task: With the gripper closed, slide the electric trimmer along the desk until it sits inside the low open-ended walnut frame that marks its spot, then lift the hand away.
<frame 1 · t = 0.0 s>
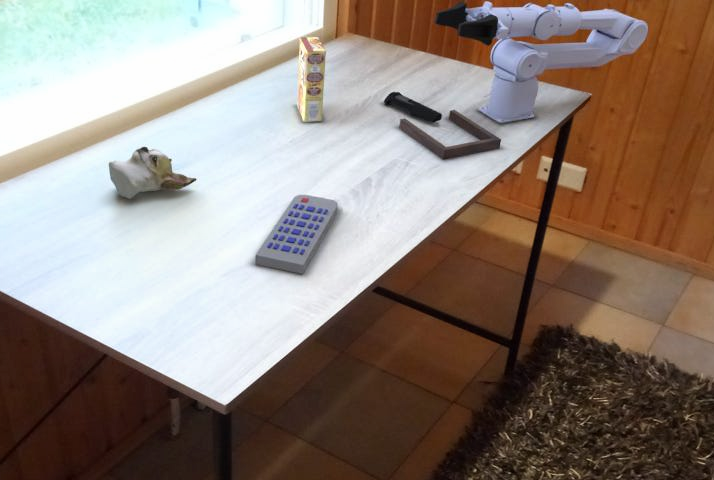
hand: (447, 23, 160), 22 cm above the table, tool horizontal, fingers open, 7 cm apart
dock: (446, 136, 170), on the table
candy box: (308, 115, 178), on the table
ceramic sculpture: (149, 190, 149), on the table
remote control: (300, 237, 137), on the table
electric trimmer: (412, 114, 179), on the table
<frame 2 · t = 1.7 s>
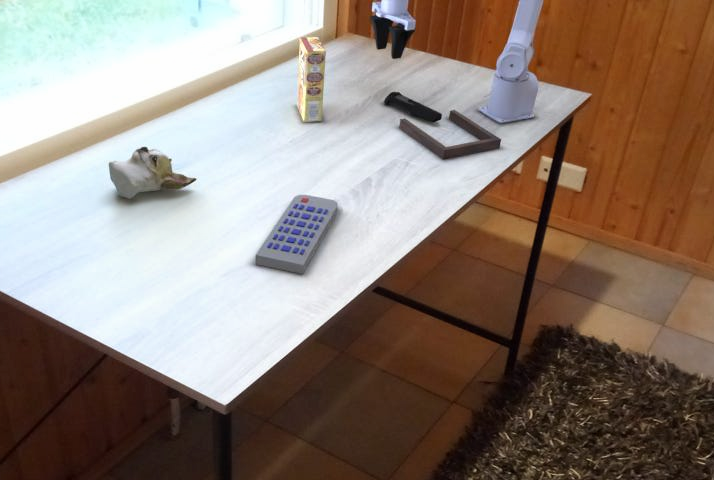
hand: (388, 53, 182), 9 cm above the table, tool pointing down, fingers open, 6 cm apart
nothing on the table moved.
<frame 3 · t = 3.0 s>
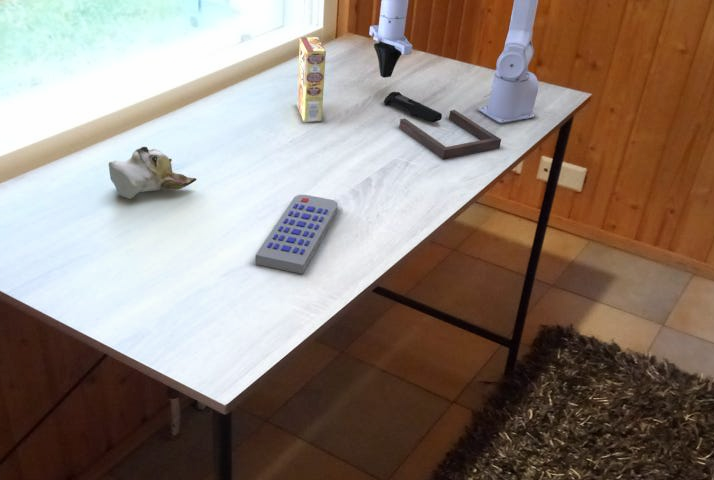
hand: (385, 76, 185), 4 cm above the table, tool pointing down, fingers closed
nothing on the table moved.
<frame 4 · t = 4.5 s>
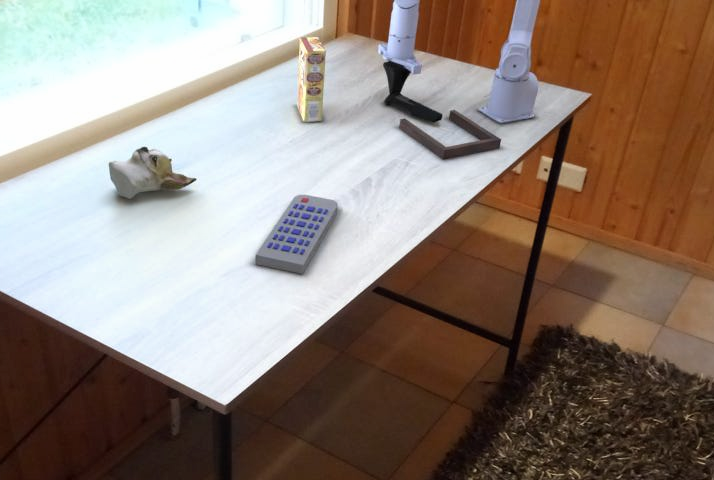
hand: (394, 94, 184), 1 cm above the table, tool pointing down, fingers closed
electric trimmer: (412, 114, 179), on the table, touching gripper
everything else where it was.
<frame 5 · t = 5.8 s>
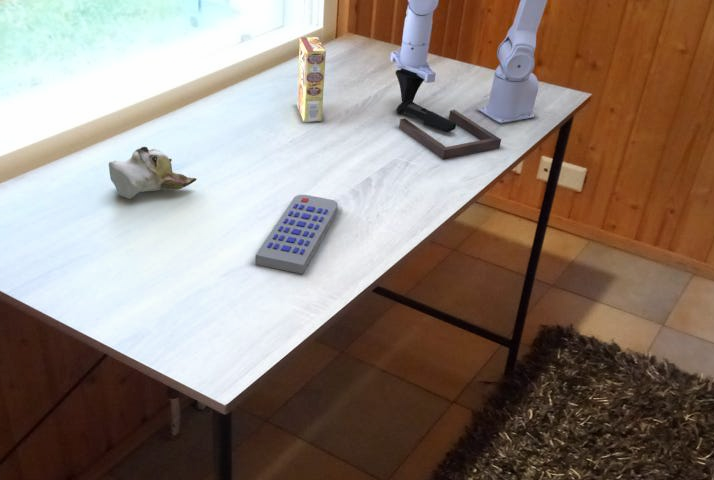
hand: (407, 103, 180), 1 cm above the table, tool pointing down, fingers closed
electric trimmer: (425, 123, 175), on the table, touching gripper
everything else where it was.
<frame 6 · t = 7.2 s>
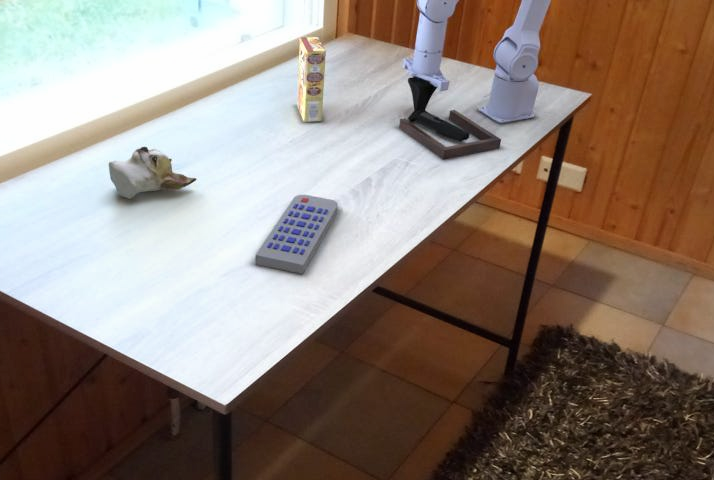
hand: (419, 111, 177), 1 cm above the table, tool pointing down, fingers closed
electric trimmer: (437, 132, 172), on the table, touching gripper
everything else where it was.
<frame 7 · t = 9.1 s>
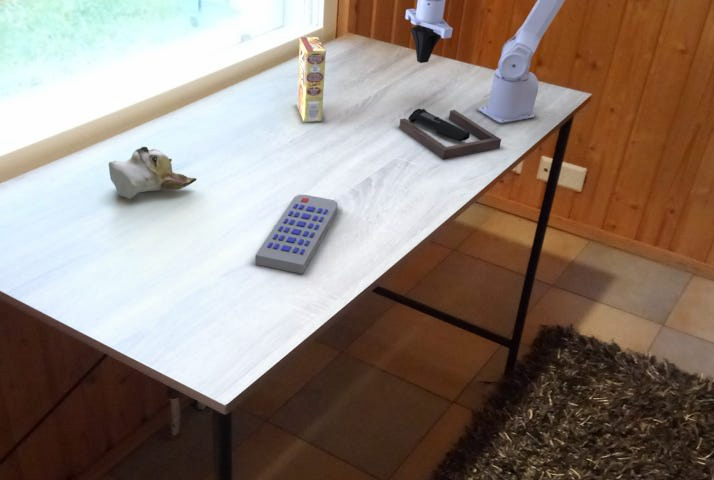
hand: (422, 61, 178), 9 cm above the table, tool pointing down, fingers closed
electric trimmer: (438, 132, 172), on the table
everything else where it was.
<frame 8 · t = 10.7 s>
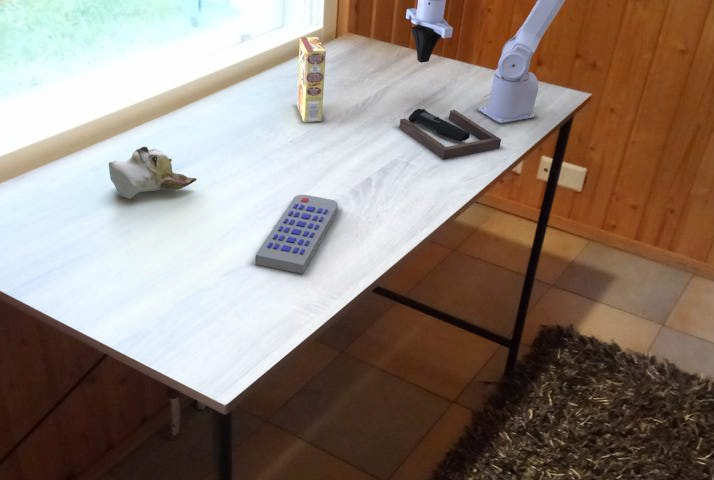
hand: (423, 61, 179), 9 cm above the table, tool pointing down, fingers closed
nothing on the table moved.
at the end: electric trimmer 0.6 cm from the target spot on the dock, point 0.0 cm above the dock's base; electric trimmer moved 10.2 cm from its start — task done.
